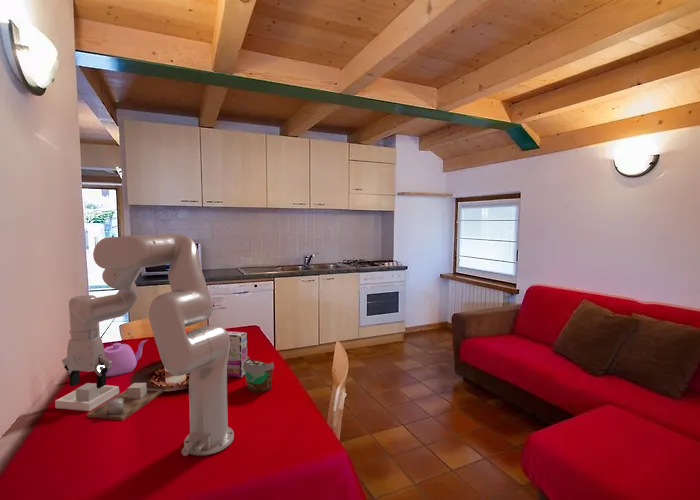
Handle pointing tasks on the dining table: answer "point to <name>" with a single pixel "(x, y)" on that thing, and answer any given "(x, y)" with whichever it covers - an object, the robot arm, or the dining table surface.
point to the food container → (258, 375)
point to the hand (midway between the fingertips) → (88, 385)
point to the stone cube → (87, 392)
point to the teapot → (122, 358)
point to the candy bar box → (237, 354)
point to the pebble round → (115, 406)
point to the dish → (72, 404)
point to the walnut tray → (125, 405)
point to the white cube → (137, 390)
